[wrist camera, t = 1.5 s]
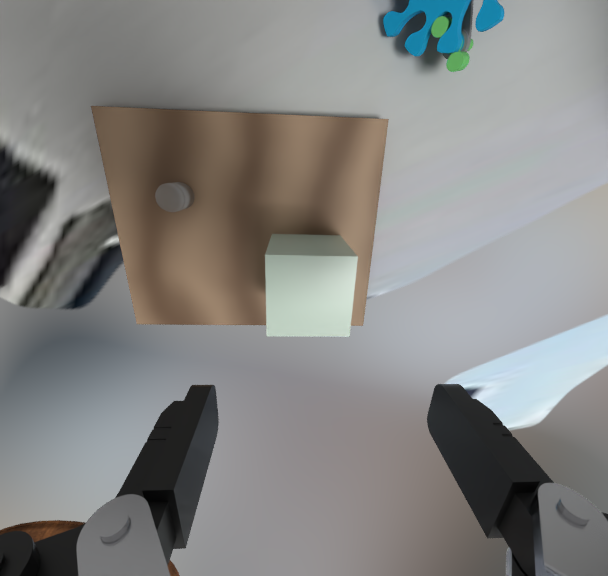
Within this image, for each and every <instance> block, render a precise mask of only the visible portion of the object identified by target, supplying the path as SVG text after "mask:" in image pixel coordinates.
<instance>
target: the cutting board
mask: <svg viewBox="0 0 608 576" xmlns="http://www.w3.org/2000/svg"><path fill="white" fill-rule="evenodd" d="M83 524H85V522H78V521H62V520H53V521H35V522H29V523H22V524H18V525H14V526H11V527H7V528H4V529H2V530H0V535H1V534H4V533H7V532H12V531H23V532H26V533H28V534H29V535H30V536H31V537H32V539H33V541H34V542H37V541H39V540H42V539H45V538H48V537H51V536H54V535H56V534H59V533H62V532H65V531H68V530H71V529H74V528H76V527H78V526H81V525H83ZM168 570H169V573H170V576H180V575H179V572H178V571H177V569H176V567H175V565H174V564H173V563H172V562H171V560H169V563H168Z"/></svg>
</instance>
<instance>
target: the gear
mask: <svg viewBox="0 0 608 576" xmlns="http://www.w3.org/2000/svg"><path fill="white" fill-rule="evenodd" d="M422 12H425V14H426V23H425V25H424V27H423V28H422V29H421V30H420V31H417V32H415V33H413V34H411V35H410V36H409V37H408V38H407V40H406V42H405V48H406V49H407V51H408V52H410V53H411V54H412V55H414V56H420V55H422V54H423V53H424V51H425V50H426V47H427V43H428V40H429V37H430V35H431V32H432V35H433V36H434V37H436V38H440V39H439V42H438V45H437V51H438V52H440V53H443V55H444V57H445V58H446V59H448V60H447V69H448V70H449V71H451V72H454V71H460V70H463V69H464V68H465V67H466V66H467V65H468V63H469V54H468V53H467V51H469V50H470V49H471V48H472V46H473V40H472V39H471V30H472V15H473V0H409V4H408V7H407V9H406V10H405V11H404V12H402V13H400V12H394V11H390V12H388V13H387V14H386V15H385V16H384V18H383V23H384V28H385V32H386V34H387V36H390V37H395V36H397V35H398V34H399V33H400V32H401V30H402V29H403V27H404V26H405V24H406V23H407V22H408V21H409V20H410V19H411V18H412V17H414V16H415V15H417V14H420V13H422ZM503 17H504V9H503V7H502V6H501V5H500V4H499V3H498V1H497V0H484V1H483V5H482V7H481V9H480V11H479V13H478V16H477V18H476V28H477V30H478V31H480V32H483V31H486V30H488V29H491V28H492V27H494V26H495V25H497V24H498V23H499V22H501V21H502V20H503Z"/></svg>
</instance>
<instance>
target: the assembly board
mask: <svg viewBox="0 0 608 576" xmlns="http://www.w3.org/2000/svg"><path fill="white" fill-rule="evenodd" d="M91 108H92V113H93V118H94V122H95V127H96V132H97V137H98V141H99V146H100V151H101V156H102V160H103V165H104V170H105V175H106V179H107V184H108V189H109V194H110V198H111V203H112V208H113V213H114V217H115V222H116V227H117V232H118V236H119V241H120V246H121V251H122V255H123V260H124V265H125V269H126V274H127V279H128V283H129V288H130V293H131V298H132V303H133V307H134V312H135V317H136V322H137V324H178V325H179V324H180V325H184V324H185V325H266V278H265V253H266V250H267V247H268V244H269V241H270V238H271V235H272V234H302V235H341V237H342V238H343V239H344V240H345V242H346V243H347V244H348V245H349V246H350V248H351V249H352V250H353V251H354V252H355V254H356V255H357V256H358V261H357V270H356V280H355V289H354V299H353V309H352V318H351V326H363V322H364V314H365V305H366V298H367V289H368V281H369V273H370V265H371V257H372V249H373V241H374V233H375V224H376V216H377V208H378V200H379V192H380V184H381V176H382V167H383V159H384V151H385V143H386V135H387V127H388V119H371V118H349V117H326V116H304V115H282V114H260V113H237V112H215V111H193V110H170V109H148V108H126V107H103V106H91Z"/></svg>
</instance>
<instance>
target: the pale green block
mask: <svg viewBox="0 0 608 576" xmlns="http://www.w3.org/2000/svg"><path fill="white" fill-rule="evenodd" d="M357 261H358V256H357V255H356V254H355V252H354V251H353V250H352V249H351V248H350V246H349V245H348V244H347V243H346V242H345V240H344V239H343V238H342V237H341V235H302V234H272V235H271V238H270V241H269V244H268V247H267V250H266V253H265V278H266V327H267V336H333V337H335V336H337V337H345V336H346V337H350V328H351V318H352V309H353V299H354V289H355V280H356V270H357Z"/></svg>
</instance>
